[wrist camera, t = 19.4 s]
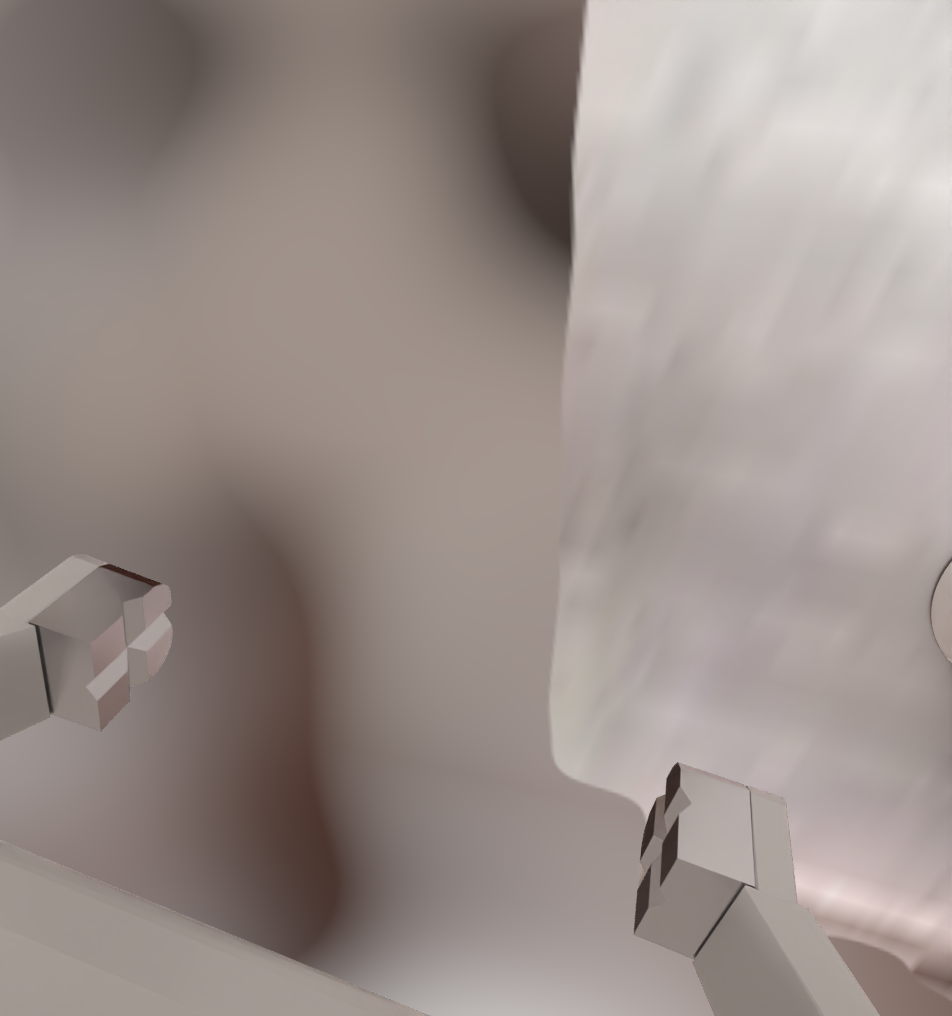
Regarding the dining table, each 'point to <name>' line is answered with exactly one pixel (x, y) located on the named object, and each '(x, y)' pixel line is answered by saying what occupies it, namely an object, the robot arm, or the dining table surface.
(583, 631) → the dining table surface
